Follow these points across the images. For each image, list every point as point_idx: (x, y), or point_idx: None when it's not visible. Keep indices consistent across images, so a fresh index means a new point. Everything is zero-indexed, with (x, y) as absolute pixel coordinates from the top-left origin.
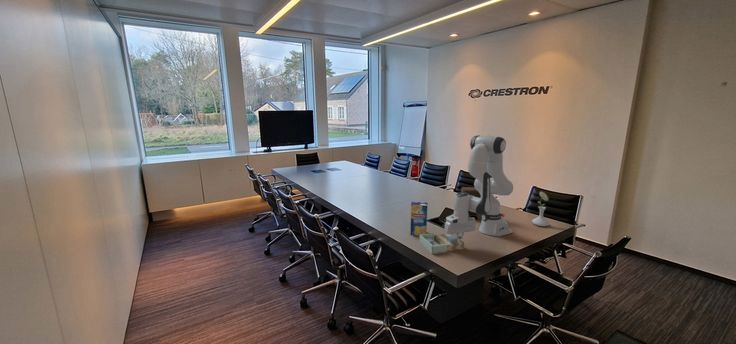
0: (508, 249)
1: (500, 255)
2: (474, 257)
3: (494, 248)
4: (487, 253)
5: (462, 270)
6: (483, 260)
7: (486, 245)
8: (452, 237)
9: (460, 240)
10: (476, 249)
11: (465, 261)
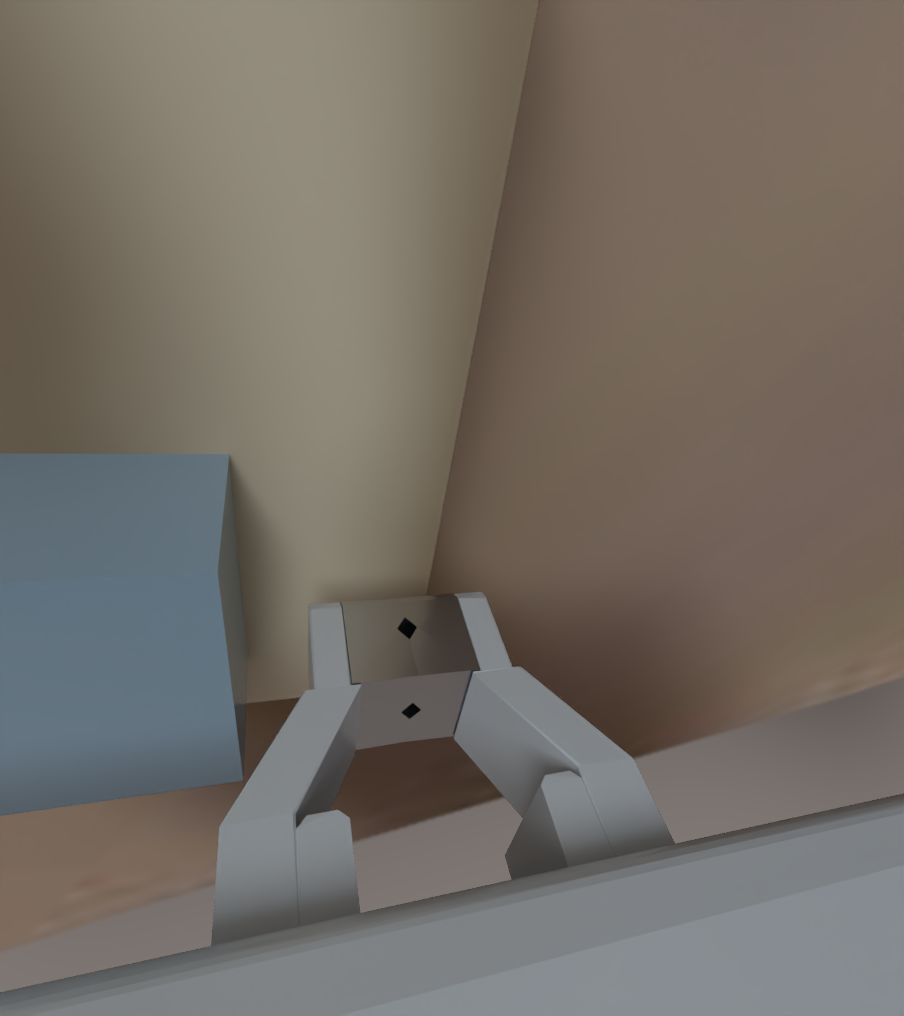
0: (890, 660)
1: (676, 743)
2: (353, 770)
3: (811, 624)
4: (601, 708)
5: (5, 942)
6: (409, 810)
7: (839, 538)
8: (45, 707)
9: (418, 573)
10: (578, 614)
11: (152, 833)
